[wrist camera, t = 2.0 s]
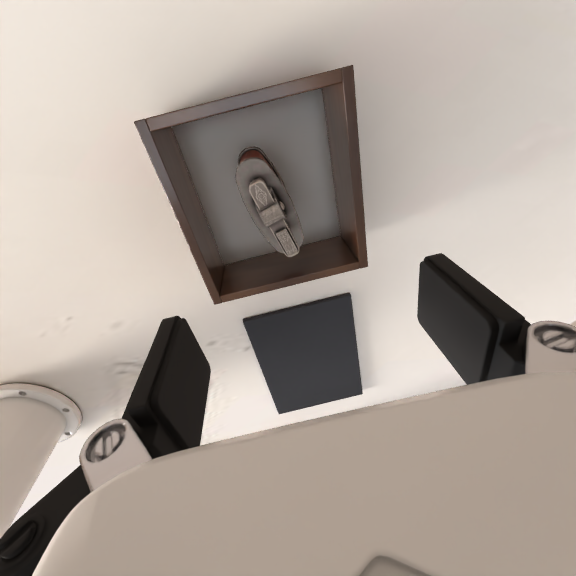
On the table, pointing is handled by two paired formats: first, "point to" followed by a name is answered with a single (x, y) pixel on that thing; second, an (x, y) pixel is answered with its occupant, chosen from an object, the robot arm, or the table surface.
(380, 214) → the table surface
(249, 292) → the walnut box
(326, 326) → the charcoal mat
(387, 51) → the table surface
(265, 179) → the lighter
